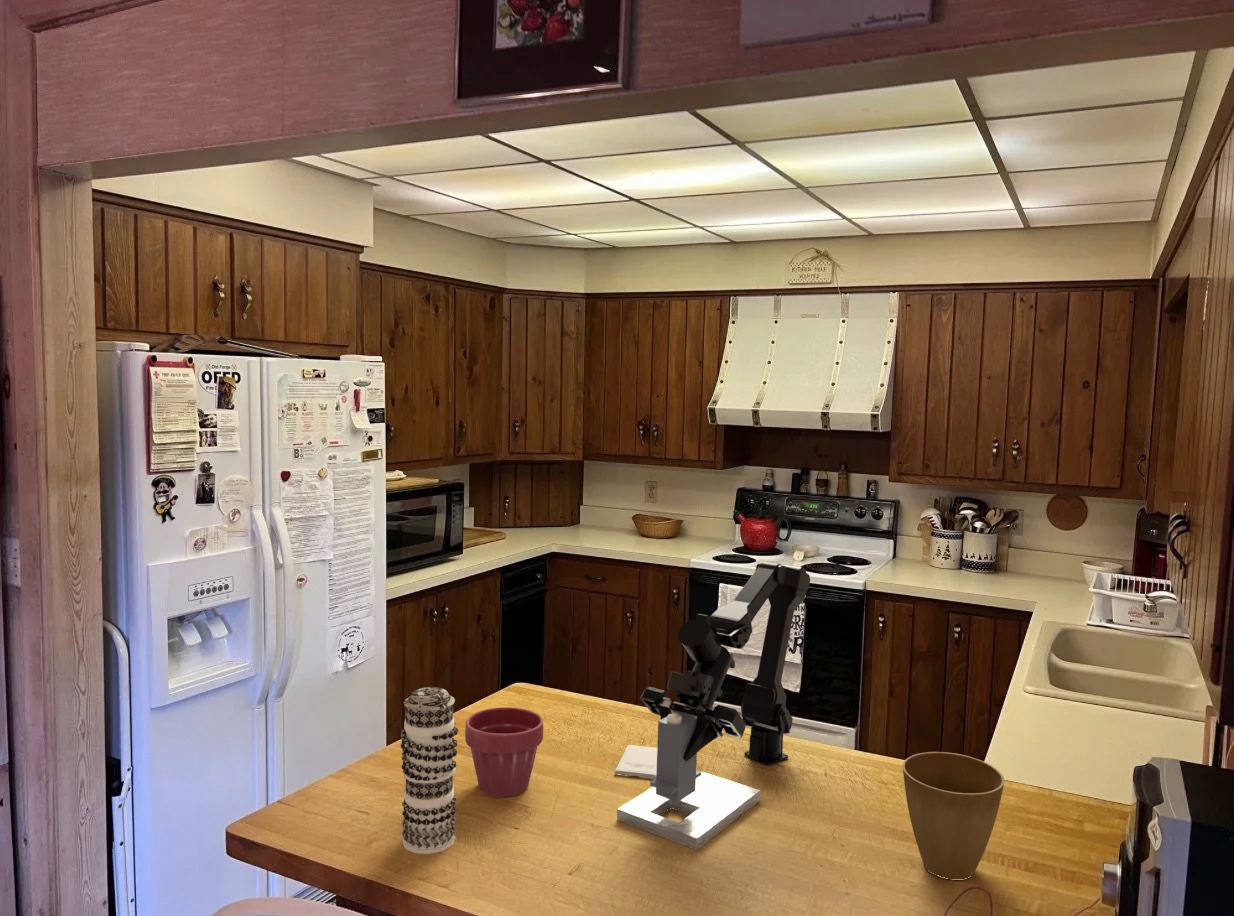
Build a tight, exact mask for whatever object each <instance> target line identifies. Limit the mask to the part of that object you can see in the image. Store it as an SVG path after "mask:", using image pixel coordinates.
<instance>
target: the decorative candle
mask: <svg viewBox="0 0 1234 916" xmlns="http://www.w3.org/2000/svg"><path fill="white" fill-rule="evenodd" d="M455 701H456V699H455V698H454V697H453V696H452V695H450V694H449V692H448V691H447V690H446V689H444V688H441V687H436V686H434V687H433V686H427V687H421V688H418V689H416V690H413V691H412V692H411V695H409V697H407V698H405V700H404V701H403V705H404V707H405V719H404V723H403V724H404V726H403V729H402V730H401V731H400V739H401V743H400V748H401V749H402V750H401V751H402V753H401V755H402V756H401V761H402V765H401V769H402V774H403V775H402V776H403V778H404V779H405V789H404V793H403V794H404V795H403V796H404V797H403V802H402V803H401V804H402V807H403V811H402V813H401V814H402V816H403V820H402V822H401V826H402V828H403V830H402V832H401V834H402V837H403V839H402V845H403V848H404V849H405V850H407V851H408V852H410V853H414V854H417V855H432V854H438V853H442V852H443V851H446V850H448V849H449V848H451V847H452V846H453V845H454V843H455V841H456V835H455V834H456V831H455V830H456V829H457V827H456V821H457V817H455V814H456V809H457V808H456V806H455V805H456V800H457V798H456V797H455V787H454V777H453V776H454V775H455V773H456V770H457V769H456V768H457V762H456V761H455V760H454V759H453V758H454V757H456V756H457V754H458V750H457V749H456V747H457V746H458V740H457V739H455V738H454V737H455V736H457V735H458V734H459V729H458V728H457V727H456V726H455V725H456V724H457V722H455V717H454V703H455Z"/></svg>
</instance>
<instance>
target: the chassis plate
mask: <svg viewBox="0 0 1234 916" xmlns="http://www.w3.org/2000/svg"><path fill="white" fill-rule="evenodd" d="M701 772H702V774H701V776H699V777H698V778H696V787H695V791H694V792H693V793H691V794H690V795H688V796H687V797H685V798H684V799H682V800H681V801H679V802H675V801H672V800H670V799H667V798H665V797H662V796H659V795H657V794H656V788H655V787H652V786H651V787H650V788H648V789H646V790H645V791H644V792H642V793H640V794H639V795H637V796H636V797H634V798H632V799H631V800H629V801H628V802H626V803H624V804H623V805H621V806H619V807H618V808H617V810H616V821H619V822H622V823H623V824H626V825H629V826H631V827H634V828H637V829H639V830H641V831H644V832H647V833H650V834H653V835H656V836H658V837H660V838H663V839H666V840H668V841H671V842H674V843H677V844H679V845H682V846H683V847H684V846H685V847H687V848H690V849H692V850H696V851H698V850H699V849H700V848H701V847H703V846H704V845H705V844H706V843H708V842H709V841H710V840H712V838H713V839H714V837H715V836H717V835H718V834H720V832H721V831H723V830H725V828H727V827H728V826H729V825H730V823H731V824H732V823H733V822H735V821H736V820H737V819H739V818H740V817H741V816H742V815H744V814H745V813H746V812H747V811H748V809H749V808H750V809H752V808H753V807H752V806H755V805H757V804H758V803H759V802H760V801H761V789H757V788H755V787H751V786H749V785H748V786H747V785H745V784H742V783H738V782H736V781H732V780H729V779H727V778H724V777H720V776H716V775H713V774H710V773H707V772H704V771H701ZM757 802H758V803H757ZM670 808H671V809H672V808H674V809H673V810H675V809H676V810H675V811H678V810H679V811H678V812H680V811H681V813H683V812H684V814H686V813H687V814H686V815H688V816H687V817H685V818H684V819H683V820H681V821H680V822H678V821H675V820H672V819H669V818H667V817H663V816H662V815H664V814H665V813H666V811H667V810H668V811H669V809H670ZM671 809H670V810H671ZM750 809H749V810H750ZM668 811H667V812H668ZM745 811H746V812H745ZM664 812H665V813H664ZM744 812H745V813H744ZM663 813H664V814H663ZM743 813H744V814H743ZM689 814H690V815H689ZM741 814H742V815H741ZM660 815H661V816H660ZM740 815H741V816H740ZM739 816H740V817H739ZM734 820H735V821H734Z"/></svg>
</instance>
